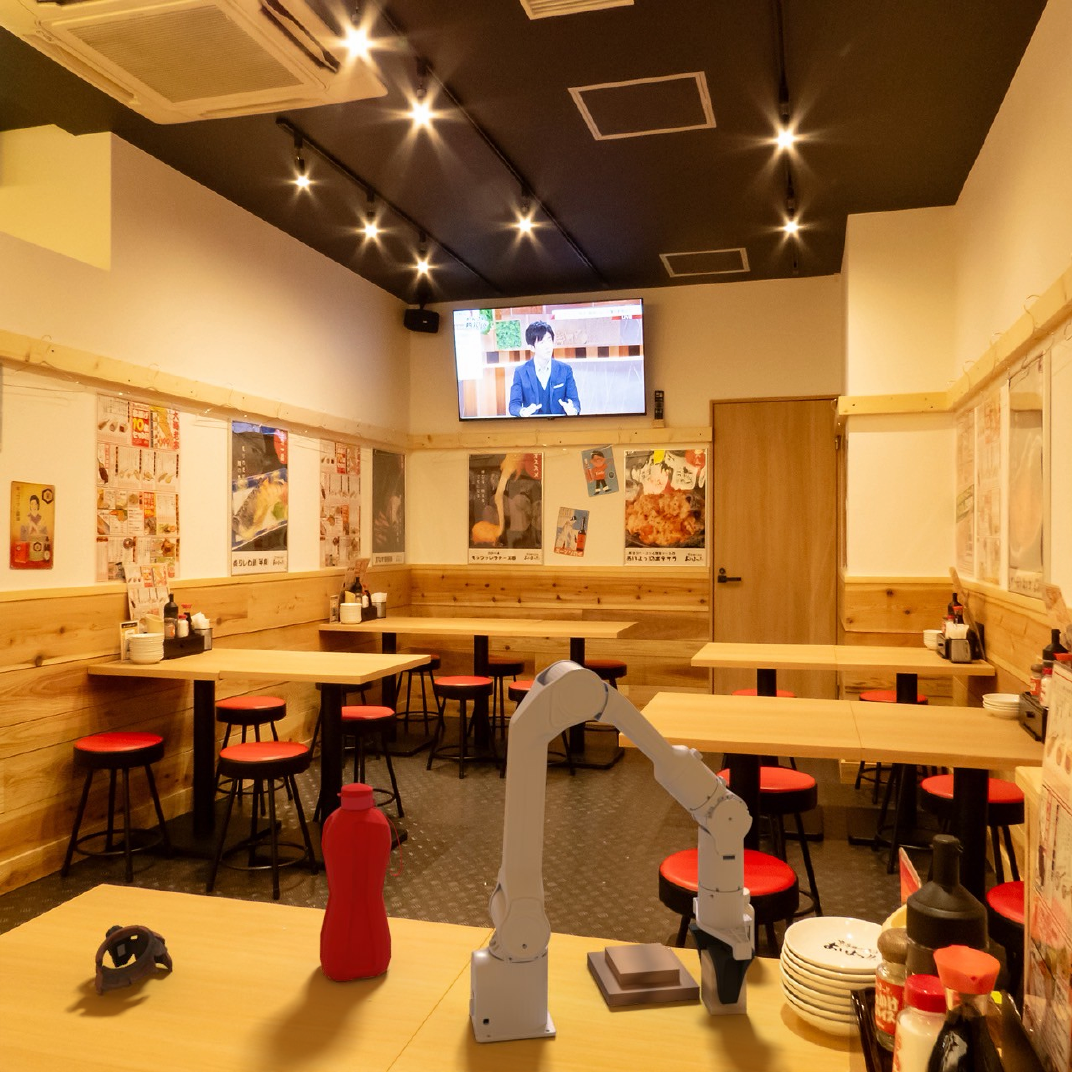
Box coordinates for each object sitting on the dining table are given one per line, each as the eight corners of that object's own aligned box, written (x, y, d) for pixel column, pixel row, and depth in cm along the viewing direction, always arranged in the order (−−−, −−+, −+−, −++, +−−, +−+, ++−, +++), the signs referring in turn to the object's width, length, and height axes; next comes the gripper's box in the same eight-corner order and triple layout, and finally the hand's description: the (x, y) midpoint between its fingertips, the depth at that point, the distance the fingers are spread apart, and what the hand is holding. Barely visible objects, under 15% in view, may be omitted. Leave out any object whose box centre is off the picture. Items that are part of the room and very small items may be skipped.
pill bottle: (727, 941, 131) (727, 880, 131) (760, 951, 127) (760, 889, 128) (710, 953, 127) (710, 890, 127) (744, 964, 123) (744, 899, 124)
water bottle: (407, 975, 119) (409, 789, 120) (324, 988, 115) (327, 796, 116) (394, 947, 128) (396, 773, 129) (316, 958, 124) (319, 779, 125)
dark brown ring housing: (192, 978, 119) (175, 938, 115) (127, 1034, 113) (108, 994, 109) (143, 933, 126) (127, 894, 122) (80, 984, 120) (60, 944, 116)
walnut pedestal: (609, 1006, 111) (609, 982, 111) (587, 963, 123) (587, 941, 123) (699, 998, 114) (699, 975, 114) (669, 957, 125) (669, 935, 125)
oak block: (711, 1015, 110) (711, 966, 110) (701, 997, 114) (701, 950, 114) (746, 1013, 110) (746, 964, 110) (735, 995, 114) (735, 948, 115)
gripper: (775, 904, 106) (775, 1018, 106) (728, 862, 120) (727, 963, 120) (719, 907, 105) (719, 1023, 104) (678, 865, 119) (678, 967, 119)
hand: (720, 992), depth 112 cm, fingers closed on oak block, 5 cm apart
